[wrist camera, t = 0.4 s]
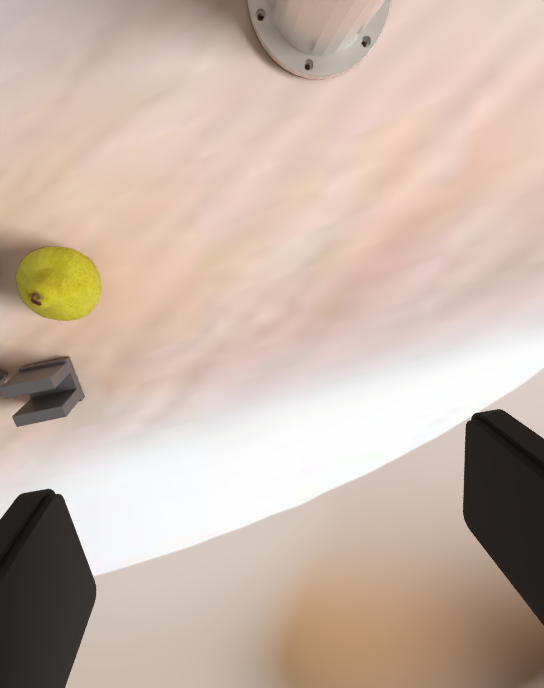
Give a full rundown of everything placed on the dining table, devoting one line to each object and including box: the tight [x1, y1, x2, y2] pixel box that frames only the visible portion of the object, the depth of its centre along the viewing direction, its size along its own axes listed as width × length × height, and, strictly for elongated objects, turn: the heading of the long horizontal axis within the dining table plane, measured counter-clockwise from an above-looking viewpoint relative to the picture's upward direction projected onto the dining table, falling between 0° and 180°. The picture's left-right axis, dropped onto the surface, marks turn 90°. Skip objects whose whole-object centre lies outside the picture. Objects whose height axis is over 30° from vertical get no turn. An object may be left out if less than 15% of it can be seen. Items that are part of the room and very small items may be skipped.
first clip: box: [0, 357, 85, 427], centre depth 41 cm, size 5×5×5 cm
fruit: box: [16, 247, 101, 321], centre depth 34 cm, size 7×7×12 cm
